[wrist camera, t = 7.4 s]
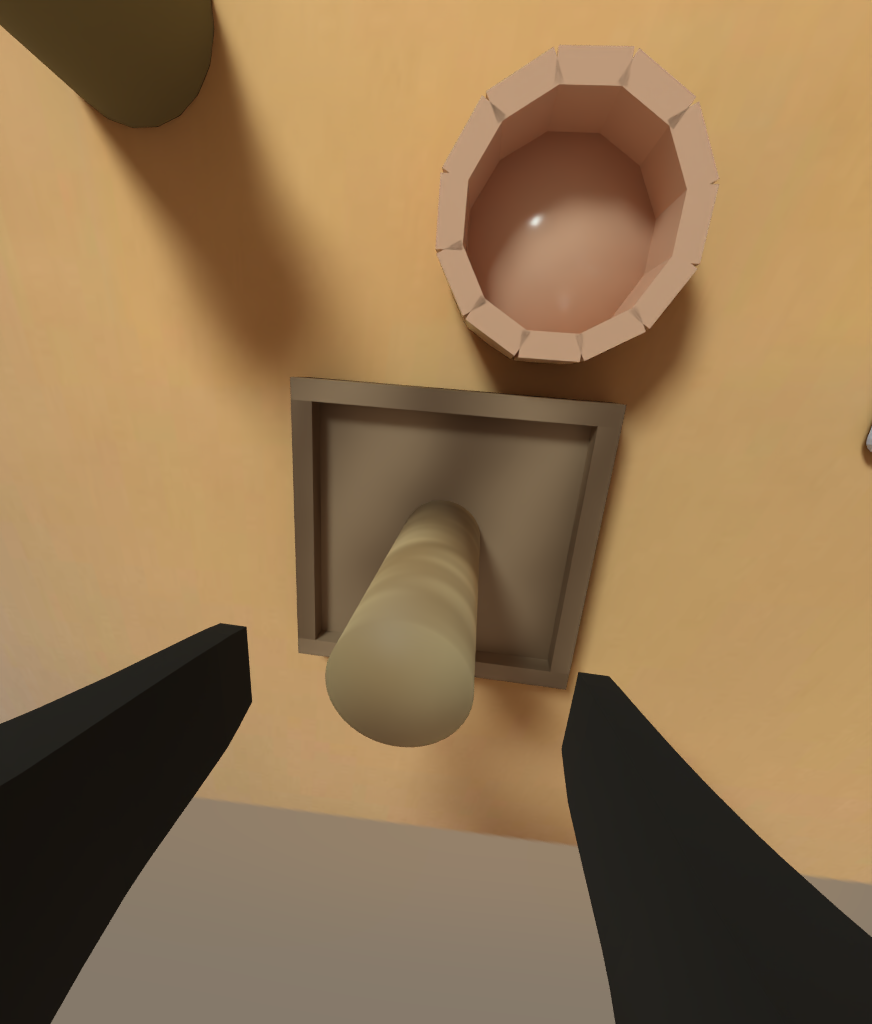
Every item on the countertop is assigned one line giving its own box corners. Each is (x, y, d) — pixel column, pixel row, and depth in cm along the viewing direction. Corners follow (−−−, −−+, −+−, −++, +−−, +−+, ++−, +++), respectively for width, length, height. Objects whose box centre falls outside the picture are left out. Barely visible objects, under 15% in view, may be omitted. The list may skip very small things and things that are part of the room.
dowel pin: (485, 506, 17) (484, 635, 8) (474, 577, 18) (463, 758, 9) (407, 495, 17) (327, 610, 8) (400, 566, 18) (323, 733, 9)
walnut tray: (612, 402, 16) (626, 404, 14) (559, 665, 20) (565, 689, 18) (307, 377, 17) (290, 376, 15) (312, 632, 20) (298, 652, 19)
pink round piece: (697, 115, 13) (751, 48, 10) (641, 371, 15) (674, 369, 13) (455, 108, 14) (449, 43, 11) (437, 355, 16) (428, 350, 13)
